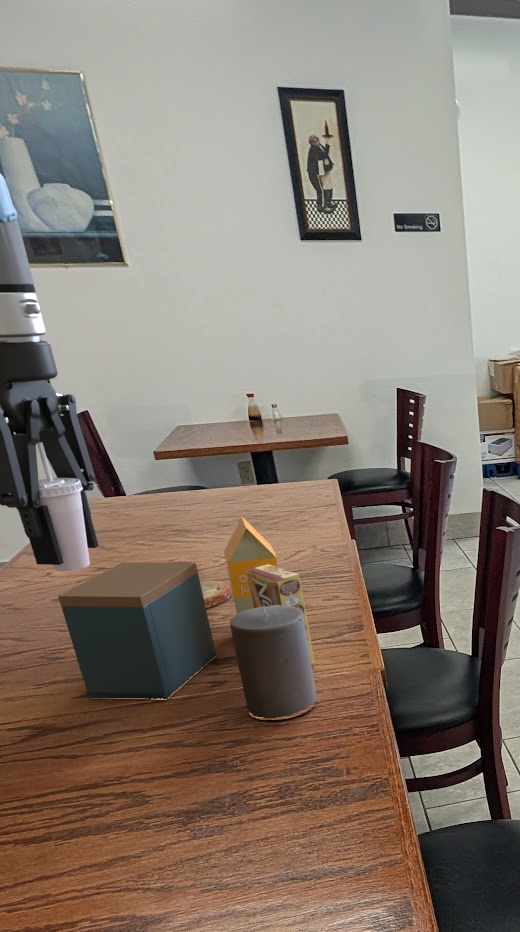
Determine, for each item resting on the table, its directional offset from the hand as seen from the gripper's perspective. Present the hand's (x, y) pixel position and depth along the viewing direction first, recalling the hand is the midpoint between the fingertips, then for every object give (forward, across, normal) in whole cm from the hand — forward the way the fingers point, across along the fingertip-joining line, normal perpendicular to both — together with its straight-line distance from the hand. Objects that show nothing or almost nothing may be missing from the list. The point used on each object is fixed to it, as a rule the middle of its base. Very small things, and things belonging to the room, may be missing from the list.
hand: (68, 554), depth 96 cm
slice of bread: (+27, +54, +22) cm, 64 cm away
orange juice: (+26, +40, -2) cm, 48 cm away
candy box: (+26, +28, -11) cm, 40 cm away
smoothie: (+2, 0, 0) cm, 2 cm away
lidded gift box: (+26, +22, +8) cm, 35 cm away
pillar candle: (+26, +13, -16) cm, 34 cm away
